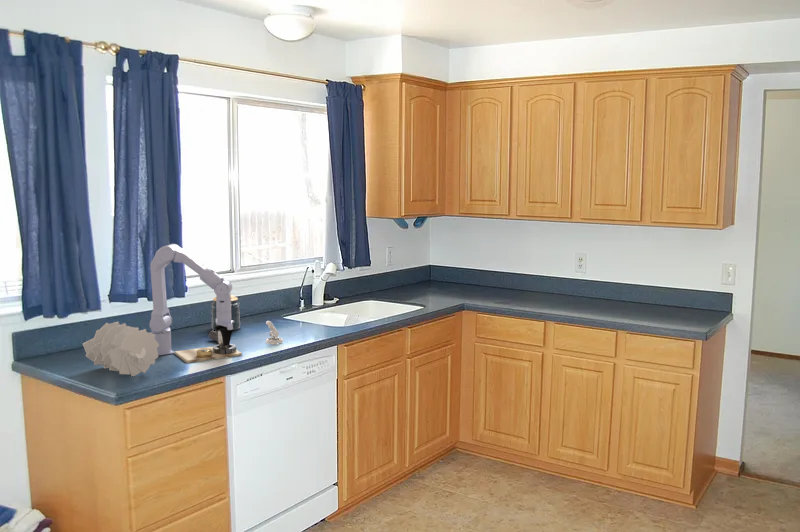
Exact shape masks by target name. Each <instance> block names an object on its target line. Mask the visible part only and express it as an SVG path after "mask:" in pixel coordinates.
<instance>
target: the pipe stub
mask: <svg viewBox="0 0 800 532" xmlns="http://www.w3.org/2000/svg"><path fill="white" fill-rule="evenodd" d="M218 342H219V343H218ZM218 342H217V343H218V344H219V348H229V345H227V346H224V345H223V340H222V335H221V332H220V330H218Z"/></svg>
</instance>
